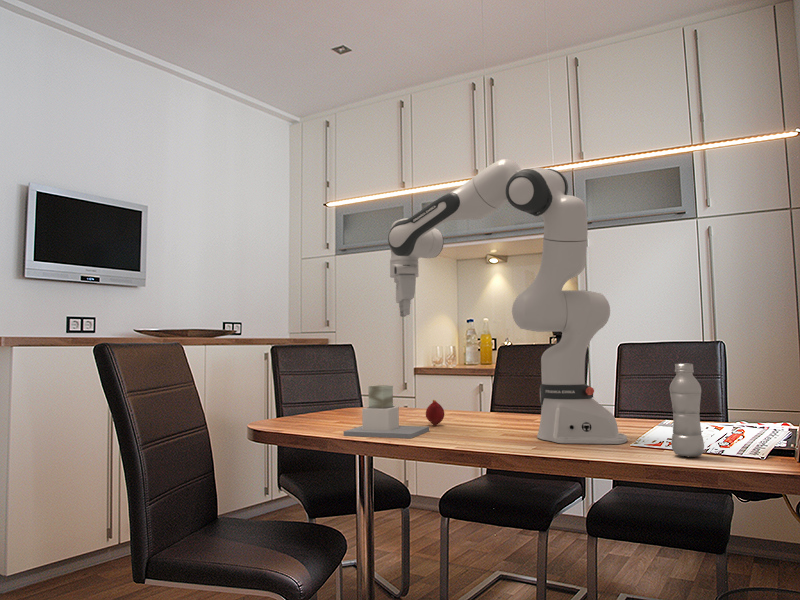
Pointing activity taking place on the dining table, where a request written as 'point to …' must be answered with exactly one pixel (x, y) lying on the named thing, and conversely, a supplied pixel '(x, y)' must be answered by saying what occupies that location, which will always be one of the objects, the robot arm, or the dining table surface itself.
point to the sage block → (381, 396)
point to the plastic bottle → (686, 412)
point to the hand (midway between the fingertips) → (404, 315)
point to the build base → (389, 434)
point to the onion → (435, 413)
